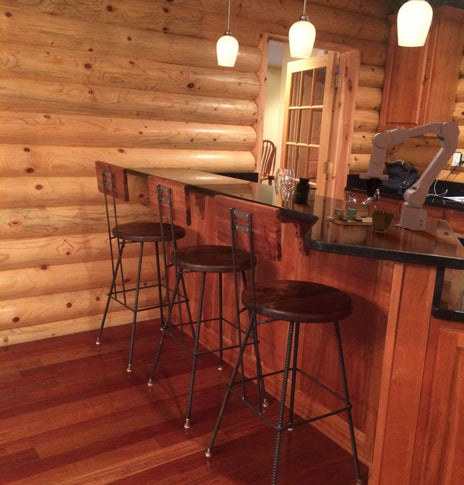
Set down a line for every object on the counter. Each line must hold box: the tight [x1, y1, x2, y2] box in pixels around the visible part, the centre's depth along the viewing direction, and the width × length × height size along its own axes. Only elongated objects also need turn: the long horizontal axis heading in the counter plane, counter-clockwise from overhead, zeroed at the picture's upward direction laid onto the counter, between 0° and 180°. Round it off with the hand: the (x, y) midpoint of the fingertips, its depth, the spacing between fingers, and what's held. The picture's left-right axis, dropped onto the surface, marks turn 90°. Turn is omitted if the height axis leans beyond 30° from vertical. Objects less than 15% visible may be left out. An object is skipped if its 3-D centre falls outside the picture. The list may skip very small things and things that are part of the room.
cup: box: [371, 210, 395, 236], centre depth 188 cm, size 8×7×8 cm
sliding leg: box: [345, 208, 361, 220], centre depth 204 cm, size 6×2×4 cm, turn 32°
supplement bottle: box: [293, 176, 312, 205], centre depth 244 cm, size 7×7×12 cm
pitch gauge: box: [324, 207, 373, 226], centre depth 207 cm, size 10×24×5 cm, turn 122°
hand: (370, 197), depth 209 cm, fingers closed
